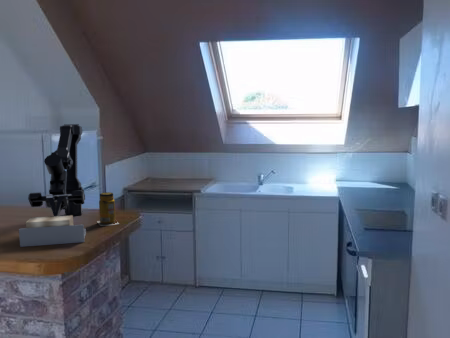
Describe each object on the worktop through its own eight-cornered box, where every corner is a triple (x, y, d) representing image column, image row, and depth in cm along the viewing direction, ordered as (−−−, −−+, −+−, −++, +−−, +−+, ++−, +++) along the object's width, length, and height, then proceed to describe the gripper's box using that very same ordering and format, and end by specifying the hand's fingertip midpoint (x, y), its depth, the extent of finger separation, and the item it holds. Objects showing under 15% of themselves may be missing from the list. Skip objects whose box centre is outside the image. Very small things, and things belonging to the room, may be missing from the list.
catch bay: (27, 237, 158) (26, 221, 157) (87, 233, 162) (86, 217, 161) (20, 246, 147) (18, 229, 146) (84, 242, 151) (83, 224, 151)
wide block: (74, 237, 158) (72, 215, 157) (70, 242, 151) (69, 220, 150) (32, 239, 156) (31, 217, 155) (27, 245, 149) (25, 222, 148)
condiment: (114, 219, 182) (113, 191, 181) (119, 224, 175) (118, 194, 173) (96, 222, 179) (95, 192, 177) (100, 226, 171) (99, 196, 170)
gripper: (86, 193, 175) (85, 227, 166) (36, 196, 171) (32, 231, 162) (83, 176, 166) (82, 212, 157) (30, 179, 162) (25, 215, 153)
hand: (55, 218), depth 157 cm, fingers closed
